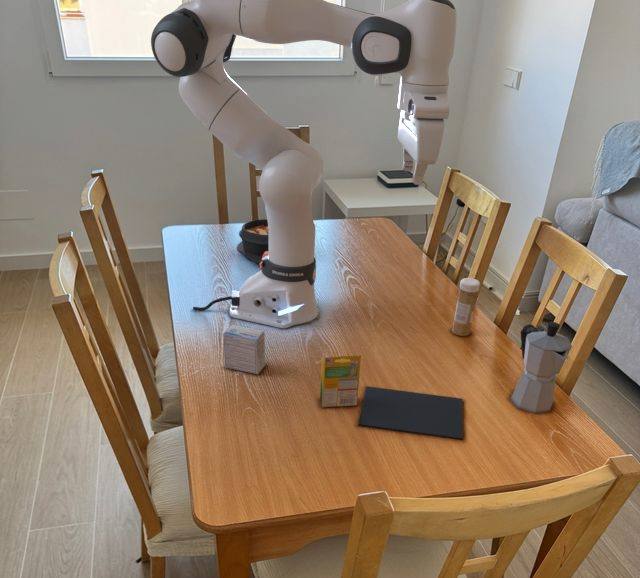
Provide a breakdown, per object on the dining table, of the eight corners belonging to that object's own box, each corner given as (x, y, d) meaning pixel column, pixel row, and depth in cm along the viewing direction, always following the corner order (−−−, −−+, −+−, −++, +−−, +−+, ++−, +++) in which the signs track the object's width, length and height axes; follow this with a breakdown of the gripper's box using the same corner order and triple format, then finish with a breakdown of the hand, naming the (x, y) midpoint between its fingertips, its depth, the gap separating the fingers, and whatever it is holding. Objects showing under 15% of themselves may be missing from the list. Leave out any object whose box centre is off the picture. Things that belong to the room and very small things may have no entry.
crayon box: (354, 397, 130) (358, 348, 123) (357, 405, 128) (361, 355, 121) (319, 399, 129) (321, 349, 122) (321, 408, 127) (324, 357, 120)
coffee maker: (567, 415, 128) (593, 337, 118) (529, 421, 126) (553, 341, 115) (527, 377, 140) (548, 303, 129) (492, 382, 137) (510, 306, 127)
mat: (358, 425, 122) (358, 424, 122) (366, 387, 133) (366, 386, 133) (462, 440, 120) (462, 438, 120) (461, 400, 131) (462, 398, 131)
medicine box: (265, 365, 139) (265, 330, 134) (257, 375, 135) (256, 340, 130) (233, 358, 141) (231, 323, 136) (224, 368, 137) (222, 332, 132)
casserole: (306, 268, 184) (307, 240, 179) (242, 271, 180) (242, 243, 175) (289, 238, 204) (289, 212, 199) (231, 241, 200) (230, 214, 195)
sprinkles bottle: (473, 334, 156) (484, 282, 148) (460, 338, 153) (470, 286, 145) (460, 326, 159) (470, 275, 151) (447, 330, 156) (456, 279, 148)
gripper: (395, 90, 125) (387, 163, 133) (417, 109, 109) (406, 191, 117) (426, 91, 126) (416, 164, 134) (452, 110, 109) (439, 192, 118)
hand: (412, 177), depth 125 cm, fingers open, 8 cm apart
